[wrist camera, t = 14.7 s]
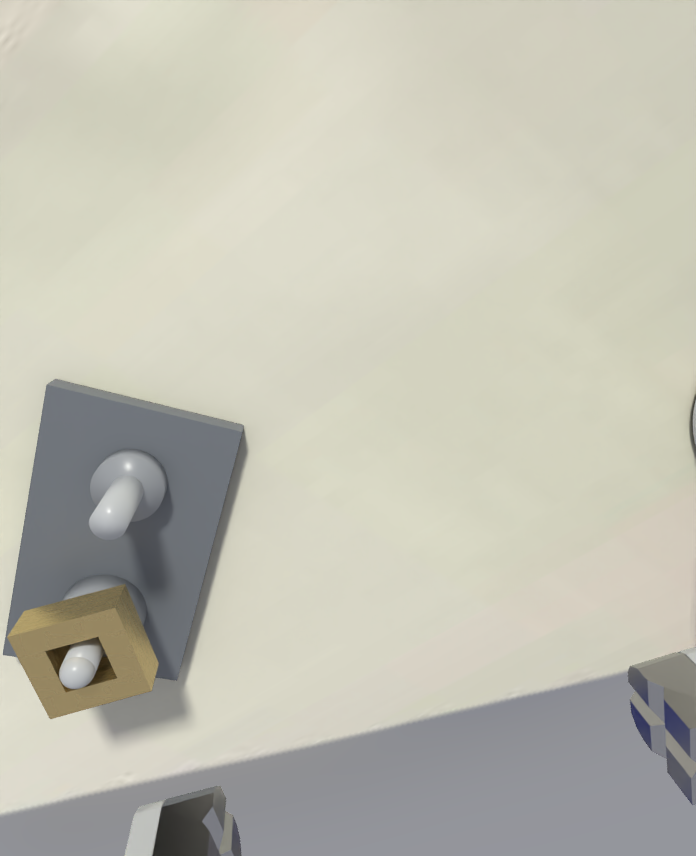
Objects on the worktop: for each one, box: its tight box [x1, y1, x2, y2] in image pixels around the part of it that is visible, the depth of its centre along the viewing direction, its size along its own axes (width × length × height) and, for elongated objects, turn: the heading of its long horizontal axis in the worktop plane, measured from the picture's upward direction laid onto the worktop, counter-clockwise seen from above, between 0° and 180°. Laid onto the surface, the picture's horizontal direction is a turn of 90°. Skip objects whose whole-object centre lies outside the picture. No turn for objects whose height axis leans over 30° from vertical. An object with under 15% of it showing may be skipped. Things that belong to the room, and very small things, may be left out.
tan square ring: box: [7, 584, 159, 719], centre depth 36 cm, size 6×6×2 cm
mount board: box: [3, 379, 243, 689], centre depth 36 cm, size 12×20×8 cm, turn 163°
